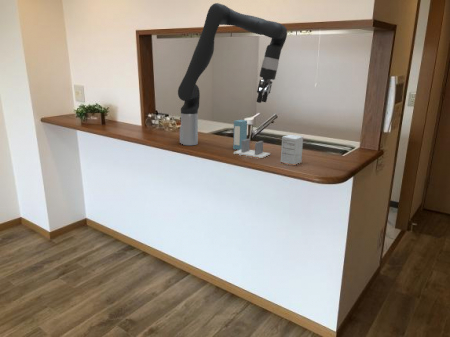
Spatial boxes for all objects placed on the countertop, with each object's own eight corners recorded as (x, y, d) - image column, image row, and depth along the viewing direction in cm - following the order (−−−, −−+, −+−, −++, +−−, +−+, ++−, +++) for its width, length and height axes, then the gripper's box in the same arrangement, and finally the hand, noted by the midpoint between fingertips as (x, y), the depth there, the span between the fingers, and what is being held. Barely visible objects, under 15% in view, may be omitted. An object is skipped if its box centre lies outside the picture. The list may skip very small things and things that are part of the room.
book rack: (233, 154, 186) (234, 140, 184) (242, 150, 193) (243, 137, 191) (261, 159, 178) (262, 144, 176) (270, 155, 185) (271, 141, 183)
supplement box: (287, 160, 177) (289, 134, 174) (301, 162, 173) (303, 136, 169) (279, 163, 172) (281, 136, 168) (294, 166, 167) (296, 138, 164)
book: (233, 149, 197) (233, 121, 193) (239, 146, 202) (239, 119, 198) (240, 150, 194) (241, 122, 190) (246, 148, 199) (247, 120, 195)
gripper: (266, 67, 181) (258, 100, 186) (257, 65, 168) (249, 100, 173) (280, 70, 179) (272, 103, 183) (272, 69, 166) (264, 104, 170)
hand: (261, 102), depth 178 cm, fingers open, 8 cm apart
